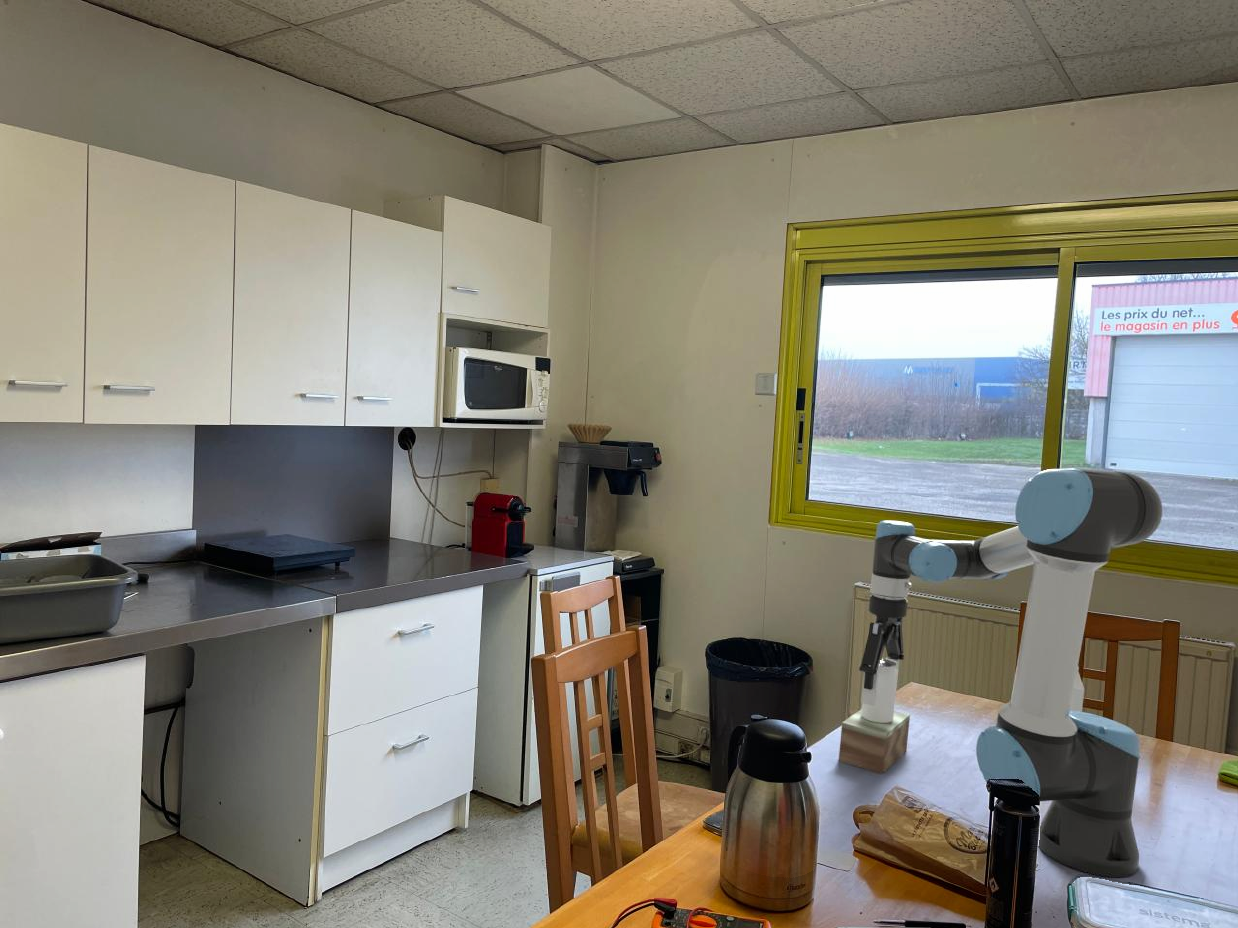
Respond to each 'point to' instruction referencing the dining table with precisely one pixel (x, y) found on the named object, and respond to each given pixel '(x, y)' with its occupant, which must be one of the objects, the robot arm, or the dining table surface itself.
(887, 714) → the can
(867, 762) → the stand
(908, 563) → the robot arm
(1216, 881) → the dining table surface
